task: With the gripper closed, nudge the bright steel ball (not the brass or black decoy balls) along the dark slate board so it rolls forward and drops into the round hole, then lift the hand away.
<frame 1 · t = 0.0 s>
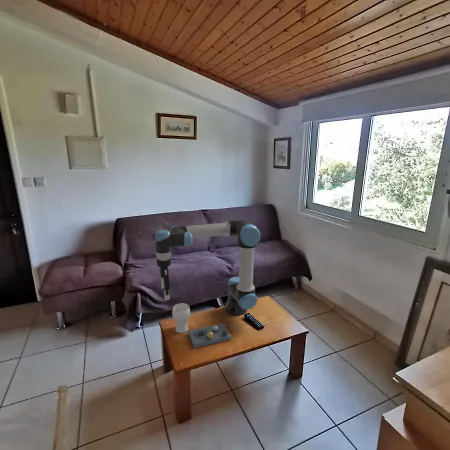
hand: (165, 293, 156), 28 cm above the table, fingers open, 13 cm apart
cup: (181, 329, 170), on the table
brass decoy: (210, 335, 158), point 4 cm above the table, touching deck
steel ball: (215, 328, 165), point 4 cm above the table, touching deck
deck: (209, 336, 164), on the table
black decoy: (225, 332, 161), point 4 cm above the table, touching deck
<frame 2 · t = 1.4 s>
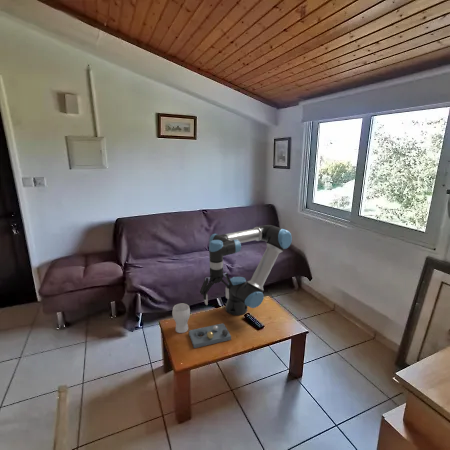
hand: (216, 300, 162), 21 cm above the table, fingers open, 13 cm apart
nothing on the table moved.
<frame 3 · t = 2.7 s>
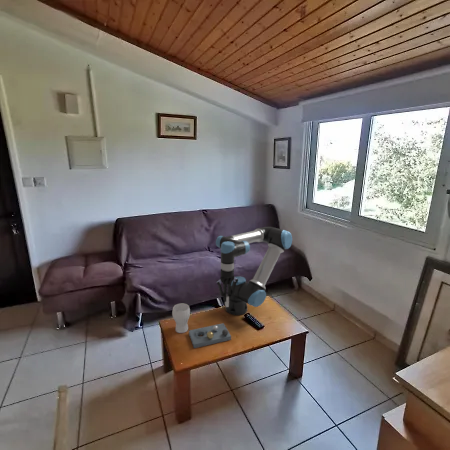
hand: (226, 305, 163), 18 cm above the table, fingers closed
nothing on the table moved.
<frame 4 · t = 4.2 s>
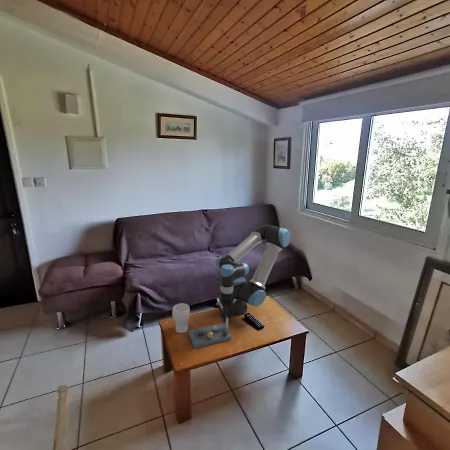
hand: (226, 326, 167), 4 cm above the table, fingers closed
nothing on the table moved.
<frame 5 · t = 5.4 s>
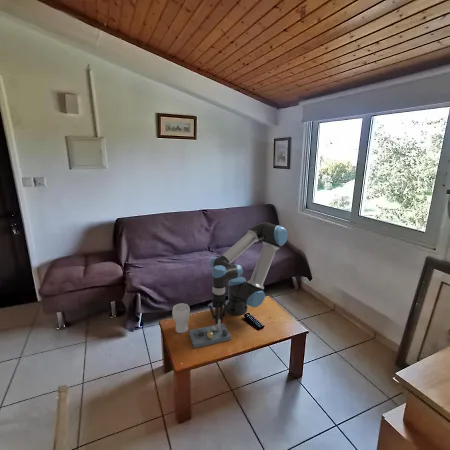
hand: (218, 327, 165), 4 cm above the table, fingers closed
steel ball: (214, 328, 164), point 4 cm above the table, tilted 21°, touching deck
everything else where it was.
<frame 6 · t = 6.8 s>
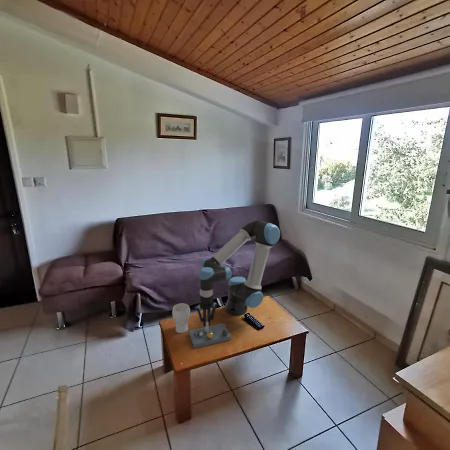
hand: (206, 330, 163), 4 cm above the table, fingers closed
steel ball: (201, 335, 163), point 2 cm above the table, tilted 42°
everything else where it was.
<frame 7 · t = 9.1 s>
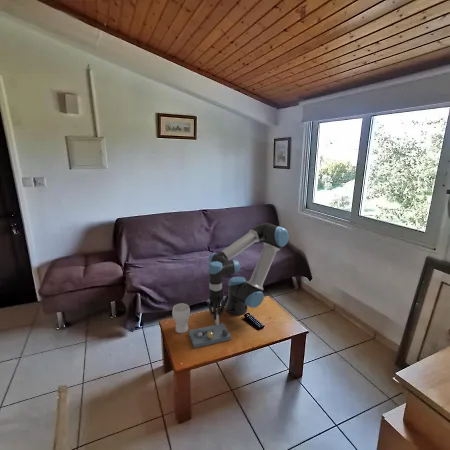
hand: (217, 323, 166), 6 cm above the table, fingers closed
steel ball: (200, 335, 162), point 2 cm above the table, tilted 12°
everything else where it was.
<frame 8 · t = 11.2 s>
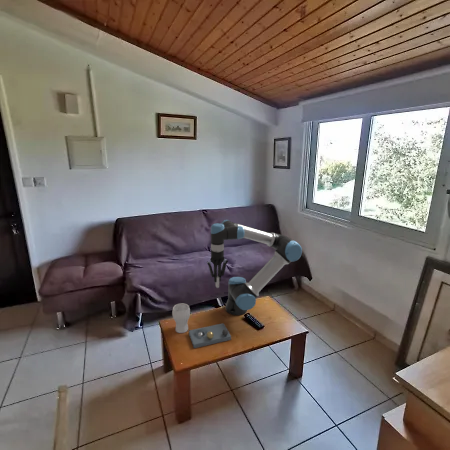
hand: (217, 286, 168), 26 cm above the table, fingers closed
nothing on the table moved.
at the end: steel ball 0.3 cm from the target spot in the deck, point 1.7 cm above the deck's base; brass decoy moved 0.0 cm from its start; black decoy moved 0.0 cm from its start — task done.
